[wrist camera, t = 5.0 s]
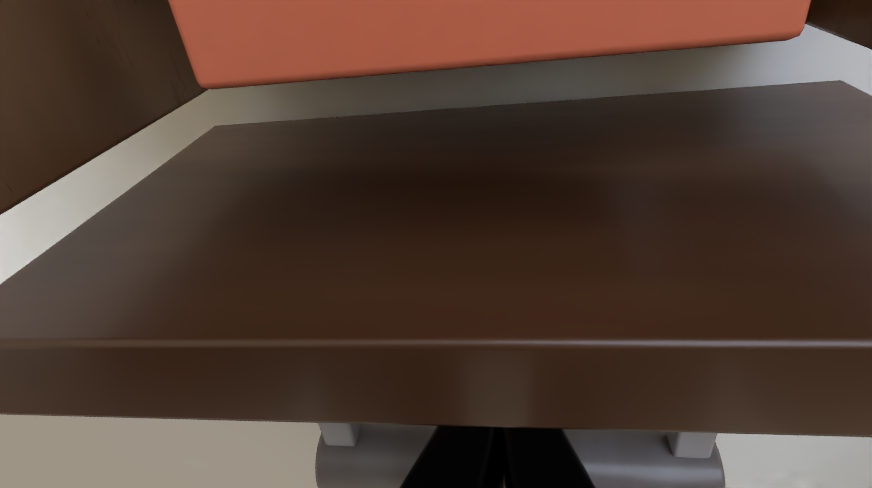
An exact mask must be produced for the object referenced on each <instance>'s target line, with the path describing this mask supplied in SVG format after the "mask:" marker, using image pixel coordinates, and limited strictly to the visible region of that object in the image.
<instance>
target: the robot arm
mask: <svg viewBox="0 0 872 488" xmlns="http://www.w3.org/2000/svg"><path fill="white" fill-rule="evenodd" d="M504 480H505V488H596V487H595V485H594V484H593V482H592V480H591V478H590V476H589V474H588V473H587V471H586V469H585V467H584V465H583V463H582V462H581V460H580V458H579V456H578V454H577V452H576V451H575V449H574V447H573V445H572V443H571V441H570V440H569V438H568V436H567V434H566V432H565V430H564V429H543V428H505V427H467V426H436V428H435V429H434V431H433V433H432V434H431V436H430V438H429V439H428V441H427V443H426V444H425V446H424V448H423V449H422V451H421V453H420V454H419V456H418V458H417V459H416V461H415V463H414V464H413V466H412V468H411V469H410V471H409V473H408V474H407V476H406V478H405V479H404V481H403V482H402V484H401V486H400V487H399V488H503V486H504Z"/></svg>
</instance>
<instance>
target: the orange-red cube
mask: <svg viewBox="0 0 872 488" xmlns="http://www.w3.org/2000/svg"><path fill="white" fill-rule="evenodd" d="M168 2H169V4H170V7H171V10H172V13H173V16H174V19H175V21H176V24H177V27H178V30H179V33H180V35H181V38H182V41H183V44H184V47H185V49H186V52H187V55H188V58H189V61H190V63H191V66H192V69H193V72H194V75H195V77H196V80H197V82H198V84H199V85H200V86H201V87H202V88H206V89H222V88H233V87H245V86H257V85H269V84H280V83H292V82H304V81H316V80H327V79H339V78H351V77H363V76H374V75H386V74H398V73H410V72H421V71H433V70H445V69H457V68H468V67H480V66H492V65H504V64H515V63H527V62H539V61H551V60H562V59H574V58H586V57H598V56H609V55H621V54H633V53H644V52H656V51H668V50H680V49H691V48H703V47H715V46H727V45H738V44H750V43H762V42H774V41H785V40H789V39H792V38H794V37H797V36H799V35H800V33H801V32H802V30H803V28H804V25H805V21H806V17H807V13H808V9H809V5H810V2H811V0H168Z"/></svg>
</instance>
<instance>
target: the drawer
mask: <svg viewBox="0 0 872 488" xmlns="http://www.w3.org/2000/svg"><path fill="white" fill-rule="evenodd" d="M805 24H808V25H810V26H812V27H815V28H818V29H820V30H823V31H825V32H828V33H831V34H833V35H836V36H838V37H841V38H844V39H846V40H849V41H851V42H854V43H857V44H859V45H862V46H864V47H867V48H870V49H872V0H811V2H810V5H809V9H808V13H807V17H806V21H805ZM207 90H209V89H206V88H202V87H201V86H200V85H199V84H198V82H197V80H196V77H195V75H194V72H193V69H192V66H191V63H190V61H189V58H188V55H187V52H186V49H185V47H184V44H183V41H182V38H181V35H180V33H179V30H178V27H177V24H176V21H175V19H174V16H173V13H172V10H171V7H170V4H169V2H168V0H0V215H1V214H2V213H4V212H6V211H7V210H9V209H11V208H12V207H14V206H16V205H17V204H19V203H21V202H22V201H24V200H26V199H27V198H29V197H31V196H32V195H34V194H36V193H37V192H39V191H41V190H42V189H44V188H46V187H47V186H49V185H51V184H52V183H54V182H56V181H57V180H59V179H61V178H62V177H64V176H66V175H67V174H69V173H71V172H72V171H74V170H76V169H77V168H79V167H81V166H82V165H84V164H86V163H87V162H89V161H91V160H92V159H94V158H96V157H97V156H99V155H101V154H102V153H104V152H106V151H107V150H109V149H111V148H112V147H114V146H116V145H117V144H119V143H121V142H122V141H124V140H126V139H127V138H129V137H131V136H132V135H134V134H136V133H137V132H139V131H141V130H142V129H144V128H146V127H147V126H149V125H151V124H152V123H154V122H156V121H157V120H159V119H161V118H162V117H164V116H166V115H167V114H169V113H171V112H172V111H174V110H176V109H177V108H179V107H181V106H182V105H184V104H186V103H187V102H189V101H191V100H192V99H194V98H195V97H197V96H199V95H200V94H202V93H204V92H205V91H207ZM0 414H7V415H45V416H46V415H47V416H49V415H50V416H84V417H122V418H161V419H198V420H199V419H200V420H237V421H238V420H239V421H276V422H315V423H318V424H319V427H320V430H321V436H320V439H319V443H318V447H317V453H316V467H315V469H316V482H317V486H318V488H399V487H400V486H401V484H402V482H403V481H404V479H405V478H406V476H407V474H408V473H409V471H410V469H411V468H412V466H413V464H414V463H415V461H416V459H417V458H418V456H419V454H420V453H421V451H422V449H423V448H424V446H425V444H426V443H427V441H428V439H429V438H430V436H431V434H432V433H433V431H434V429H435V428H436V426H467V427H505V428H543V429H564V430H565V432H566V434H567V436H568V438H569V440H570V441H571V443H572V445H573V447H574V449H575V451H576V452H577V454H578V456H579V458H580V460H581V462H582V463H583V465H584V467H585V469H586V471H587V473H588V474H589V476H590V478H591V480H592V482H593V484H594V485H595V487H596V488H725V477H724V470H723V465H722V461H721V457H720V453H719V450H718V448H717V445H716V443H715V438H716V435H717V433H735V434H773V435H811V436H850V437H872V96H871V95H869V94H867V93H865V92H863V91H861V90H859V89H857V88H855V87H853V86H851V85H849V84H847V83H845V82H843V81H840V80H838V81H825V82H811V83H797V84H783V85H770V86H756V87H742V88H729V89H715V90H701V91H687V92H674V93H660V94H646V95H632V96H619V97H605V98H591V99H577V100H564V101H550V102H536V103H522V104H509V105H495V106H481V107H467V108H454V109H440V110H426V111H413V112H399V113H385V114H371V115H358V116H344V117H330V118H316V119H303V120H289V121H275V122H261V123H248V124H234V125H220V126H215V127H213V128H212V129H210V130H209V131H208V132H206V133H205V134H203V135H202V136H201V137H199V138H198V139H197V140H195V141H194V142H193V143H191V144H190V145H189V146H187V147H186V148H184V149H183V150H182V151H180V152H179V153H178V154H176V155H175V156H174V157H172V158H171V159H170V160H168V161H167V162H166V163H164V164H163V165H161V166H160V167H159V168H157V169H156V170H155V171H153V172H152V173H151V174H149V175H148V176H147V177H145V178H144V179H142V180H141V181H140V182H138V183H137V184H136V185H134V186H133V187H132V188H130V189H129V190H128V191H126V192H125V193H124V194H122V195H121V196H119V197H118V198H117V199H115V200H114V201H113V202H111V203H110V204H109V205H107V206H106V207H105V208H103V209H102V210H100V211H99V212H98V213H96V214H95V215H94V216H92V217H91V218H90V219H88V220H87V221H86V222H84V223H83V224H82V225H80V226H79V227H77V228H76V229H75V230H73V231H72V232H71V233H69V234H68V235H67V236H65V237H64V238H63V239H61V240H60V241H58V242H57V243H56V244H54V245H53V246H52V247H50V248H49V249H48V250H46V251H45V252H44V253H42V254H41V255H40V256H38V257H37V258H35V259H34V260H33V261H31V262H30V263H29V264H27V265H26V266H25V267H23V268H22V269H21V270H19V271H18V272H16V273H15V274H14V275H12V276H11V277H10V278H8V279H7V280H6V281H4V282H3V283H2V284H0ZM503 488H505V480H504V486H503Z"/></svg>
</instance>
